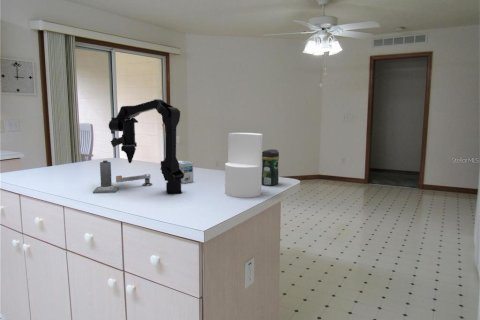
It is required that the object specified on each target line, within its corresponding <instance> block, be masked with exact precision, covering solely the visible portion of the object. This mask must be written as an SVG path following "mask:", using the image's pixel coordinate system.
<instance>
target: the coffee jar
mask: <svg viewBox="0 0 480 320" xmlns="http://www.w3.org/2000/svg"><path fill="white" fill-rule="evenodd" d="M279 154H280V152H279V150H278V149H271V148H270V149H267V150H262V183H261V185H264V186H266V187H268V186H277V185H278V184H279V160H280V159H279V158H280V155H279Z"/></svg>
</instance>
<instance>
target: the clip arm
mask: <svg viewBox="0 0 480 320" xmlns="http://www.w3.org/2000/svg"><path fill="white" fill-rule="evenodd" d="M145 179H150V180H151V173H145V174H141V175H134V176H133V175H132V176H125V177H123V175H116V176H115V182H116V183H124V182H133V181H139V180H145Z"/></svg>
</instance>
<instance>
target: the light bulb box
mask: <svg viewBox="0 0 480 320" xmlns="http://www.w3.org/2000/svg"><path fill="white" fill-rule="evenodd" d="M178 162H179V169H180V170H181V171H182V172H183V173H184V177H183V178H182V179H181V184H188V183H193V182H194V162H192V161H191V162H190V161H185V160H178Z"/></svg>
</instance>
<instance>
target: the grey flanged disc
mask: <svg viewBox="0 0 480 320" xmlns="http://www.w3.org/2000/svg"><path fill="white" fill-rule="evenodd" d="M143 186H144V187H151V186H153V183H152V182H151V178H150V179H144V182H143V183H142V187H143Z"/></svg>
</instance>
